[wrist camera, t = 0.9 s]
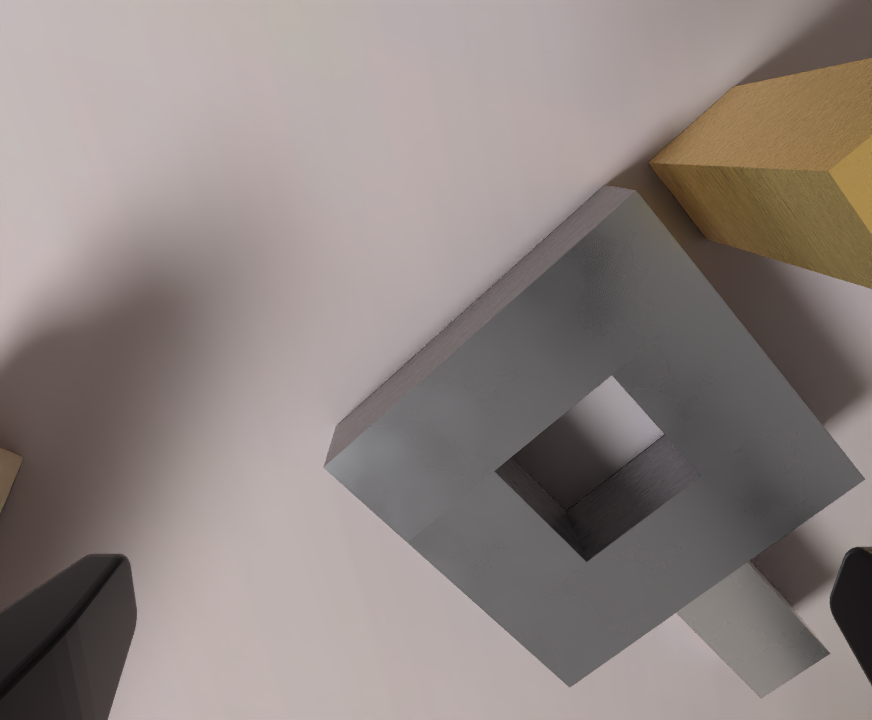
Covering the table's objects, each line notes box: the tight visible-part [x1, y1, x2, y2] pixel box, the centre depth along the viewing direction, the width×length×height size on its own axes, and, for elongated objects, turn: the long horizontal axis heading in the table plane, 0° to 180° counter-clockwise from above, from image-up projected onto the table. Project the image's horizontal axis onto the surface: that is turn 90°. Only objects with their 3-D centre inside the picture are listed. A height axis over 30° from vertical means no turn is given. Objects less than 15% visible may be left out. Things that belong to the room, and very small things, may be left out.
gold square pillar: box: [648, 58, 872, 289], centre depth 15 cm, size 3×3×9 cm
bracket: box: [324, 185, 865, 698], centre depth 21 cm, size 18×12×3 cm, turn 43°
